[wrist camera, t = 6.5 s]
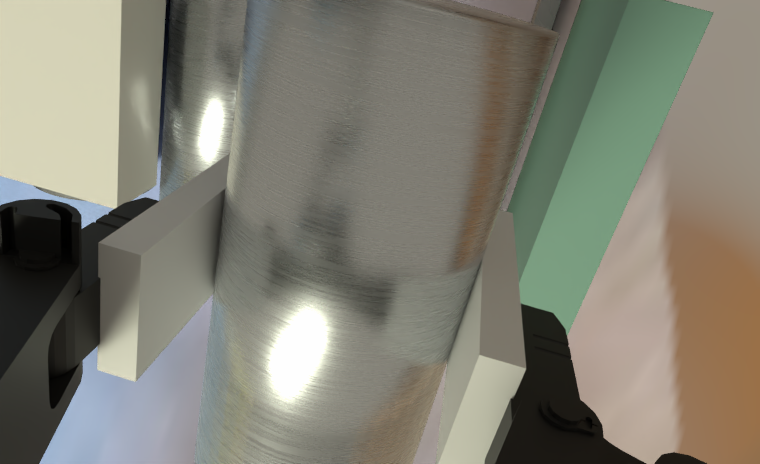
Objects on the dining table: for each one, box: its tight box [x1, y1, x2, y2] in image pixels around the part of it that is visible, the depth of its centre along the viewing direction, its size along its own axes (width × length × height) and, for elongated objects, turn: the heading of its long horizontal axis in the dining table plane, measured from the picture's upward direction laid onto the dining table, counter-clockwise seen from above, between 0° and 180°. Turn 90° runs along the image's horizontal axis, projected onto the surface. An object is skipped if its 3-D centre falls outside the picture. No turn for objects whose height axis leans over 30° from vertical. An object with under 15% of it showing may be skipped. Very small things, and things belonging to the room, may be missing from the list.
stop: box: [507, 0, 713, 335], centre depth 24 cm, size 14×2×9 cm, turn 167°
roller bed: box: [33, 0, 247, 201], centre depth 27 cm, size 14×21×6 cm, turn 77°
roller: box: [195, 0, 560, 464], centre depth 13 cm, size 12×6×6 cm, turn 167°
